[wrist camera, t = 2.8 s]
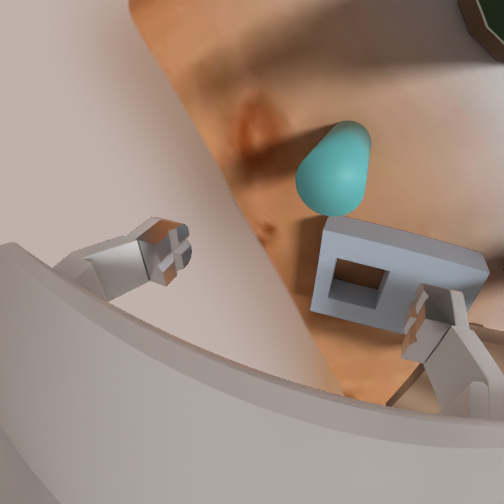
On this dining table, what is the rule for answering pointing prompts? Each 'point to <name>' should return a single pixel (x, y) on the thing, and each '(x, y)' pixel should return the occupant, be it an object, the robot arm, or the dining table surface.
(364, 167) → the peg
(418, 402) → the toy chair
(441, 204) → the dining table surface
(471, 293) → the socket
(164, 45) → the dining table surface
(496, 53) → the beer bottle
